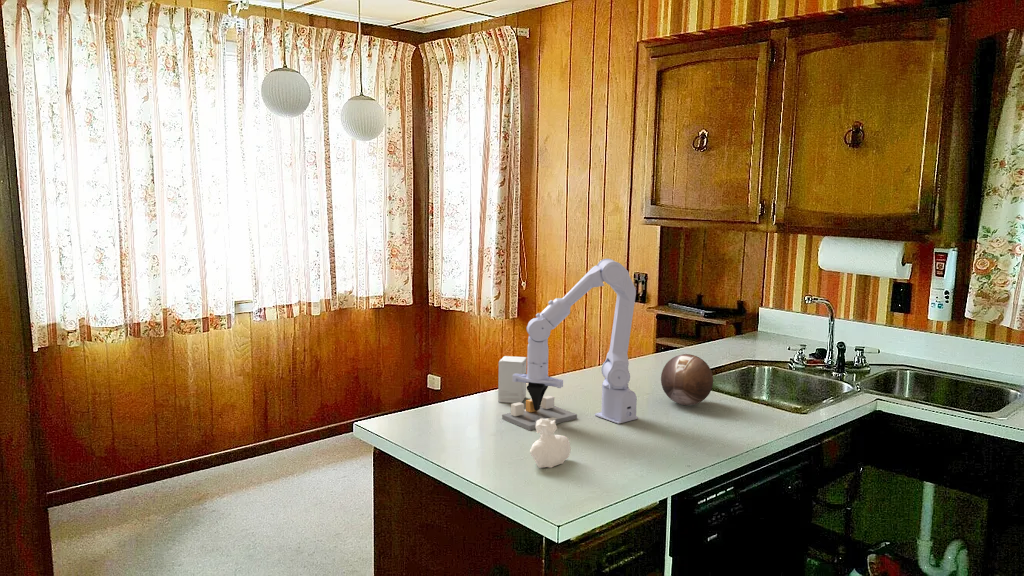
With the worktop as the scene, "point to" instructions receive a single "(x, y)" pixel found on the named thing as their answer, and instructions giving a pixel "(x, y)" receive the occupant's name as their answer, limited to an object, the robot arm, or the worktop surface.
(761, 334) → the worktop surface
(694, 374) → the brown metallic sphere
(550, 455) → the bust
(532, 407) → the breaker
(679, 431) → the worktop surface
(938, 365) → the worktop surface
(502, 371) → the supplement box
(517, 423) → the breaker panel
